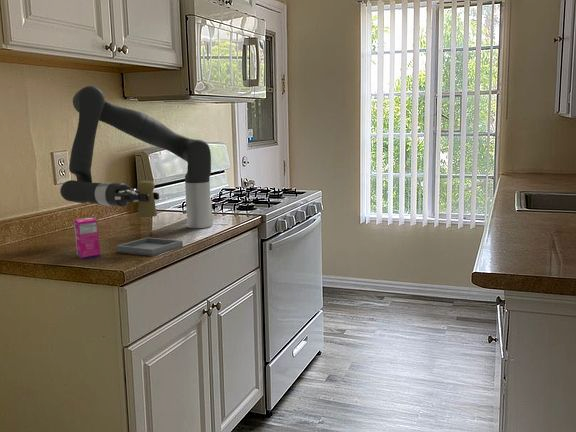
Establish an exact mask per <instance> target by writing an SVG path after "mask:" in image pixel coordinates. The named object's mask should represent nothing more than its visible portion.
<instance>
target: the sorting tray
mask: <svg viewBox="0 0 576 432" xmlns="http://www.w3.org/2000/svg"><path fill="white" fill-rule="evenodd" d="M183 241H184V240H180V239H170V238H169V239H168V238H158V237H143V238H140V239H136V240H133V241H130V242H125V243H122V244H118V245H116V246H115V248H116V251H115V252H116V253H124V254H131V255H140V256H149V257H154V256H157V255H158V256H159V255H160V254H164V253H166V252H171V251H173V250H176V249H179V248H180V249H181V248H183V247H184V245H183V243H184V242H183Z"/></svg>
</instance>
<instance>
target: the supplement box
mask: <svg viewBox="0 0 576 432" xmlns="http://www.w3.org/2000/svg"><path fill="white" fill-rule="evenodd" d="M73 224H74V234H75V235H74V236H75V237H74V238H75V245H76V246H75V247H76V255H77V257H78V258H80V259H81V260H87V259H94V258H100V257H101V251H100V250H101V247H100V240H99V227H98V220H97V219H95V218H93V217H87V218H76V219H73ZM93 257H94V258H93ZM86 258H87V259H86Z"/></svg>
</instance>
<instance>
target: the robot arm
mask: <svg viewBox="0 0 576 432" xmlns="http://www.w3.org/2000/svg"><path fill="white" fill-rule="evenodd" d="M72 105H73V108H74V109H75V111H76V112H77V113H78V123H77V127H76V128H77V130H76V133H75V137H74V139H73V143H72V146H71V151H70V156H69V157H70V159H69V165H68V171H69V173H71V174H73V175H74V176H75V177H76V180H73V179H72V180H66V181H65V182H64V183H63V184H62V185H61V186H60V191H59V192H60V196H61V197H62V198H63V199H64V200H65V201H67V202H73V203H79V204H87V203H89V204H96V205H104V206H108V207H110V206H112V207H122V208H123V207H125V206H127V205H128V204H129V203H139V201H146V202H148V201H150V195H149V194H139V190H138V189H137V188H130V186H129V185H127V184H126V183H123V182H122V183H120V182H93V178H92V163H93V157H94V149H95V141H96V140H95V139H96V136H97V135H96V134H97V130H98V125H99V122H102V123H105V124H107V125H110V126H111V127H113V128H115V129H117V130H119V131H120V132H123V133H125V134H127V135H129V136H131V137H132V138H135V139H137V140H140V141H142V142H143V143H145V144H149V145H151V146H153V147H156V148H159V149H163V150H166V151H168V152H170V153H172V154H174V155H176V156H177V157H179V158H180V159H182V160H183V161H185V162H187V172H186V173H185V176H184V183H185V187H184V189H185V203H186V204H185V205H186V206H185V207H186V225H187V226H186V227H187V228H189V229H207V228H211V227H212V226H213V222H214V221H213V203H212V200H211V185H210V184H211V182H210V181H211V180H210V178H211V174H212V153H211V148H210V145H209V144H208V143H207V142H206V141H205V140H202V139H193V138H189V137H187V136H184V135H181V134H179V133H177V132H174V131H173V130H172V129H170V128H169V127H167V125H165V124H164V123H162V122H161V121H159V120H157V119H156V118H154V117H152V116H150V115H148V114H146V113H143V112H141V111H137V110H134V109H130V108H126V107H122V106H119V105H116V104H113V103H111V102H109V101H107V100H106V99H105V95H104V92H102V90H101V89H100V88H98V87H97V86H93V85H87V86H85V87H82V88H80V90H78V91H77V92H76V93H75V94H74V96H73V98H72ZM153 195H154V200H156V201H157V200H159V199H160V193H159V192H154V191H153Z"/></svg>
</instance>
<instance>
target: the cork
mask: <svg viewBox="0 0 576 432" xmlns="http://www.w3.org/2000/svg"><path fill="white" fill-rule="evenodd" d="M136 189H137V190H139V194H149V195H150V201H148V202H146V201H138V205H137V217H138V218H152V217H153V218H154V217H157V216H158V212H157V208H156V207H157V205H156V201H155V200H154V195H153V192H154V190H155V183H154V182H153V181H151V180H141V181H139V182H138V183H137V186H136Z"/></svg>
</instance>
